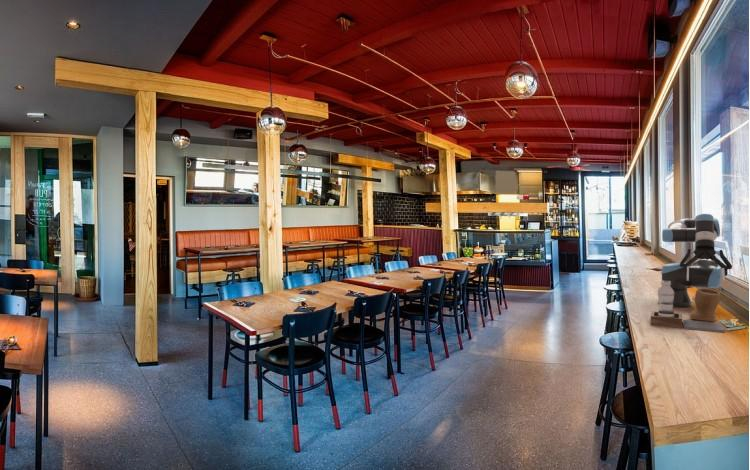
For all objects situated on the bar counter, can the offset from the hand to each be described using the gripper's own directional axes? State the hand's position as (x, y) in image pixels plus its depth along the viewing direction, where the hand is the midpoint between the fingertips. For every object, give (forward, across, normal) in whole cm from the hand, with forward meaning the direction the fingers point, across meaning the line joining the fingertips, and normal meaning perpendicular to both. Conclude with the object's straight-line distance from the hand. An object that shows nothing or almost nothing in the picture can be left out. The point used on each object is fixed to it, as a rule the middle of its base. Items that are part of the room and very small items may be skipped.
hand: (705, 280), depth 203 cm
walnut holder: (+26, -15, -6) cm, 31 cm away
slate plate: (+26, -2, -7) cm, 27 cm away
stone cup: (+18, 0, +7) cm, 19 cm away
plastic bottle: (+26, -15, -6) cm, 31 cm away
